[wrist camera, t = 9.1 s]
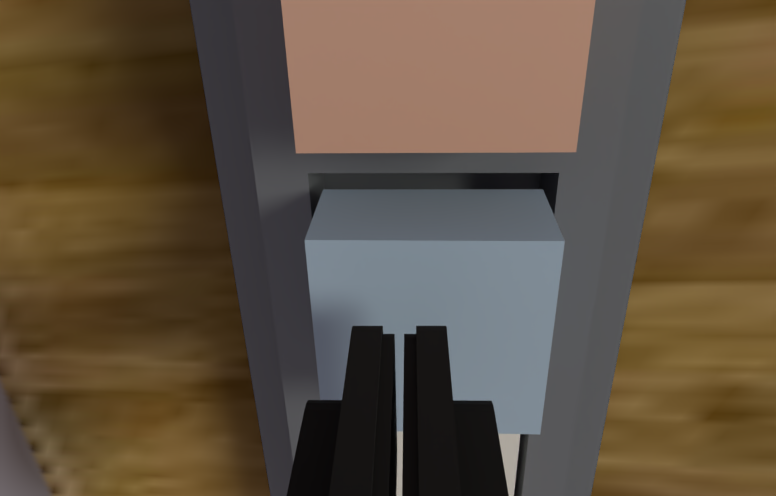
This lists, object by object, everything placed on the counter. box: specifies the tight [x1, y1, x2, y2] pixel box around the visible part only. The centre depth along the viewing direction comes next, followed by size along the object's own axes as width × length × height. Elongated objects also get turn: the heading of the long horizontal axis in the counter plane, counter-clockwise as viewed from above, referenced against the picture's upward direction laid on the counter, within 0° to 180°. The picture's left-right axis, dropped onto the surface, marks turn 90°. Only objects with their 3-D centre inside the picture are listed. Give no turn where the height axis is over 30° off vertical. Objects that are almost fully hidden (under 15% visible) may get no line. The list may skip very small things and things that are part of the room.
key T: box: [305, 189, 565, 435], centre depth 14 cm, size 5×5×2 cm
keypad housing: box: [189, 0, 686, 496], centre depth 15 cm, size 29×11×3 cm, turn 1°
